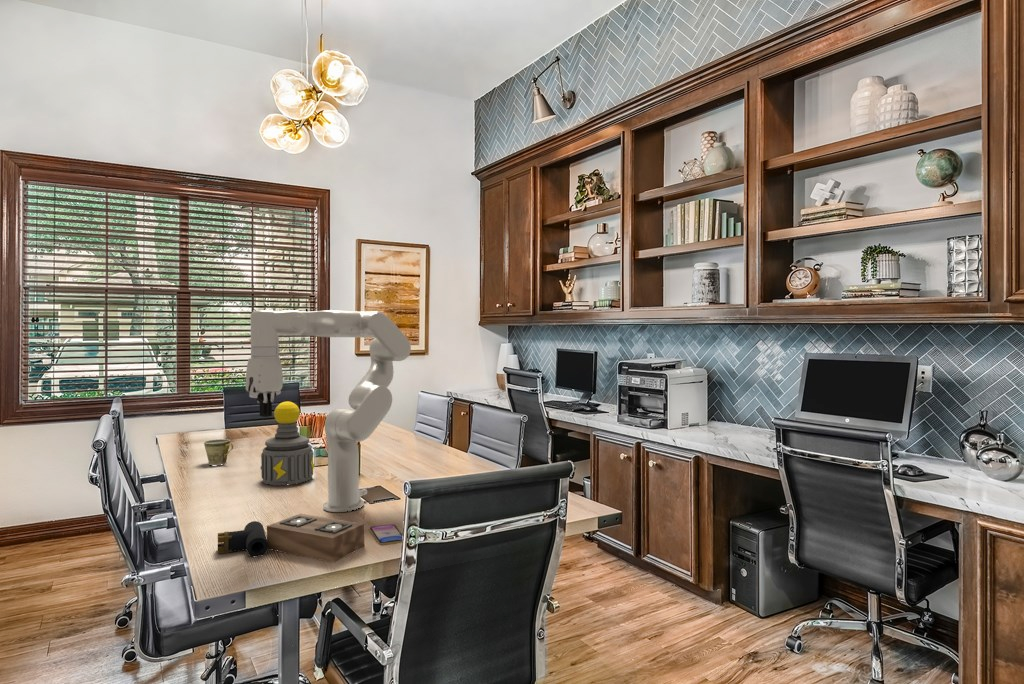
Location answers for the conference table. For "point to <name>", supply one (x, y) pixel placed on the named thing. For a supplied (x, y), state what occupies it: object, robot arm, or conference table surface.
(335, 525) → the peg
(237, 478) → the conference table surface
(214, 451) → the ceramic cup
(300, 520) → the peg
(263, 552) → the pipe connector
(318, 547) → the plunger block
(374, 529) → the smartphone
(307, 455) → the grey lightning bolt generator
